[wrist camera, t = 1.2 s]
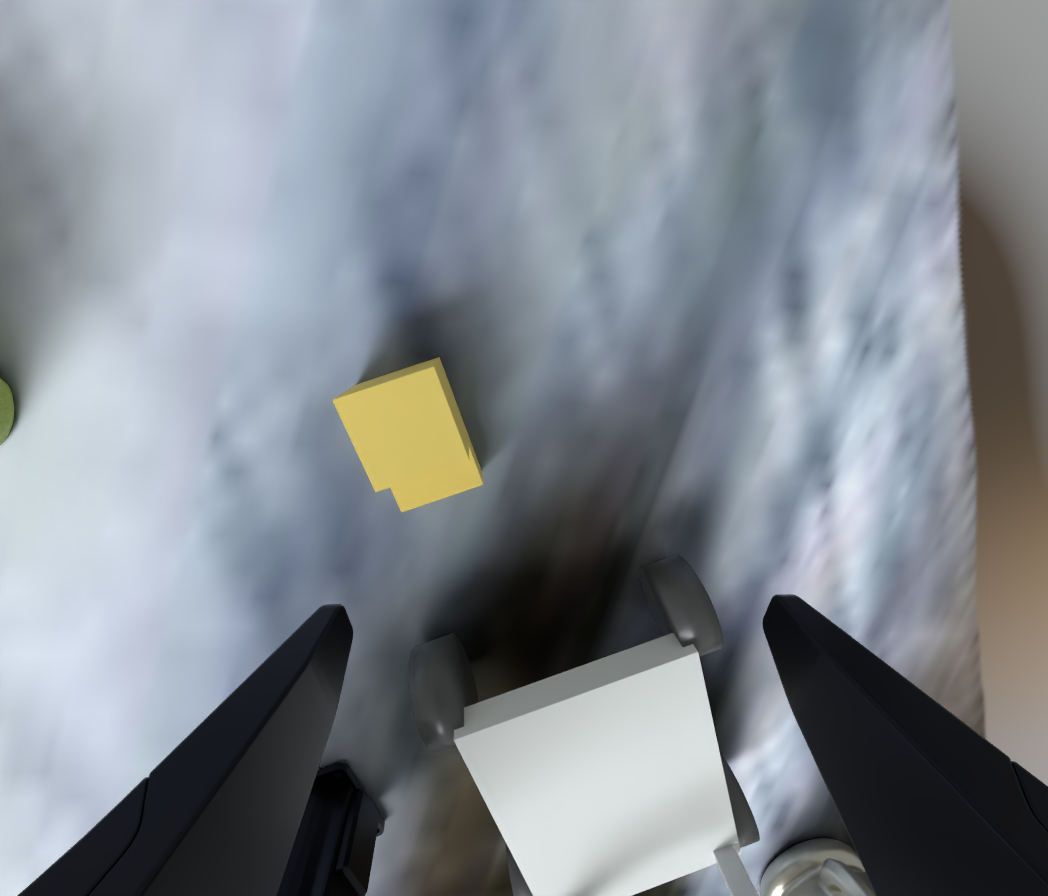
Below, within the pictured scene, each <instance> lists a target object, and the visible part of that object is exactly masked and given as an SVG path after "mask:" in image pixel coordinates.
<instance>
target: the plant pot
mask: <svg viewBox="0 0 1048 896" xmlns="http://www.w3.org/2000/svg"><path fill="white" fill-rule="evenodd" d="M13 419H14V402H13V397H12V393H11V390H10V387H9V386H8V385H7V383H5V382H4V381H3V380H2V379H1V378H0V445H1V444H2V443H3V442H4V440H5V439H6V438H7V436H8V434H9V432H10V430H11V427H12V424H13Z"/></svg>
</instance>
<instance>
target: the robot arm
mask: <svg viewBox="0 0 1048 896" xmlns="http://www.w3.org/2000/svg"><path fill="white" fill-rule="evenodd" d="M763 630H764V633H765V636H766V639H767V642H768V645H769V647H770V650H771V653H772V656H773V659H774V662H775V665H776V668H777V671H778V673H779V676H780V679H781V682H782V685H783V688H784V691H785V694H786V696H787V699H788V702H789V704H790V707H791V709H792V712H793V714H794V716H795V718H796V721H797V723H798V725H799V727H800V729H801V732H802V734H803V736H804V738H805V740H806V743H807V745H808V747H809V749H810V751H811V753H812V756H813V758H814V760H815V762H816V764H817V767H818V769H819V771H820V773H821V775H822V777H823V780H824V782H825V784H826V786H827V788H828V791H829V793H830V795H831V797H832V799H833V802H834V804H835V806H836V808H837V810H838V812H839V815H840V817H841V819H842V821H843V823H844V826H845V828H846V830H847V832H848V834H849V836H850V839H851V841H852V843H853V845H854V847H855V850H856V852H857V854H858V856H859V858H860V860H861V863H862V865H863V867H864V869H865V871H866V874H867V876H868V878H869V880H870V882H871V885H872V887H873V889H874V891H875V893H876V895H877V896H1048V786H1046V785H1045V784H1044V783H1043V782H1041V781H1040V780H1039V779H1037V778H1036V777H1035V776H1033V775H1032V774H1031V773H1029V772H1028V771H1027V770H1025V769H1024V768H1023V767H1021V766H1020V765H1019V764H1018V763H1016V762H1014V761H1011V760H1010V758H1009V757H1008V756H1007V755H1005V754H1004V753H1003V752H1002V751H1000V750H999V749H998V748H996V747H995V746H994V745H992V744H991V743H990V742H988V741H987V740H986V739H985V738H983V737H982V736H981V735H979V734H978V733H977V732H975V731H974V730H973V729H971V728H970V727H969V726H968V725H966V724H965V723H964V722H962V721H961V720H960V719H958V718H957V717H956V716H954V715H953V714H952V713H951V712H949V711H948V710H947V709H945V708H944V707H943V706H941V705H940V704H939V703H937V702H936V701H935V700H933V699H932V698H931V697H930V696H928V695H927V694H926V693H924V692H923V691H922V690H920V689H919V688H918V687H916V686H915V685H914V684H912V683H911V682H910V681H909V680H907V679H906V678H905V677H903V676H902V675H901V674H899V673H898V672H897V671H895V670H894V669H893V668H891V667H890V666H889V665H888V664H886V663H885V662H884V661H882V660H881V659H880V658H878V657H877V656H876V655H874V654H873V653H872V652H870V651H869V650H868V649H867V648H865V647H864V646H863V645H861V644H860V643H859V642H857V641H856V640H855V639H853V638H852V637H851V636H850V635H848V634H847V633H846V632H844V631H843V630H842V629H840V628H839V627H838V626H836V625H835V624H834V623H832V622H831V621H830V620H829V619H827V618H826V617H825V616H823V615H822V614H821V613H819V612H818V611H817V610H815V609H814V608H813V607H811V606H810V605H809V604H808V603H806V602H805V601H804V600H802V599H801V598H799V597H798V596H796V595H791V594H787V595H775V596H773V597H772V599H771V601H770V604H769V606H768V608H767V611H766V613H765V616H764V618H763ZM352 639H353V628H352V625H351V623H350V620H349V617H348V615H347V612H346V609H345V607H344V606H343V605H341V604H329V605H323V606H321V607H320V608H319V609H317V610H316V611H315V612H314V613H313V614H312V615H311V616H310V617H309V618H308V619H307V620H306V621H305V622H304V623H303V624H302V625H301V626H300V627H299V628H298V629H297V630H296V631H295V632H294V633H293V634H292V635H291V636H290V637H289V638H288V639H287V640H286V641H285V642H284V643H283V644H282V645H281V646H280V647H279V648H278V649H277V650H276V651H274V652H273V653H272V654H271V655H270V656H269V657H268V658H267V659H266V660H265V661H264V662H263V663H262V664H261V665H260V666H259V667H258V668H257V669H256V670H255V671H254V672H253V673H252V674H251V675H250V676H249V677H248V678H247V679H246V680H245V681H244V682H243V683H242V684H241V685H240V686H239V687H238V688H237V689H236V690H235V691H234V692H232V693H231V694H230V695H229V696H228V697H227V698H226V699H225V700H224V701H223V702H222V703H221V704H220V705H219V706H218V707H217V708H216V709H215V710H214V711H213V712H212V713H211V714H210V715H209V716H208V717H207V718H206V719H205V720H204V721H203V722H202V723H201V724H200V725H199V726H198V727H197V728H196V729H195V730H194V731H193V732H192V733H190V734H189V735H188V736H187V737H186V738H185V739H184V740H183V741H182V742H181V743H180V744H179V745H178V746H177V747H176V748H175V749H174V750H173V751H172V752H171V753H170V754H169V755H168V756H167V757H166V758H165V759H164V760H163V761H162V762H161V763H160V764H159V765H158V766H157V767H156V768H155V769H154V770H153V771H152V772H151V773H150V774H149V778H148V777H147V778H144V779H143V780H142V781H141V782H140V783H139V784H138V785H137V786H136V787H135V788H134V789H133V790H132V791H131V792H130V793H129V794H128V795H127V796H126V797H125V798H124V799H123V800H122V801H121V802H120V803H118V804H117V805H116V806H115V807H114V808H113V809H112V810H111V811H110V812H109V813H108V814H107V815H106V816H105V817H104V818H103V819H102V820H101V821H100V822H98V823H97V824H96V825H95V826H94V827H93V828H92V829H91V830H90V831H89V832H88V833H87V834H86V835H85V836H84V837H83V838H82V839H80V840H79V841H78V842H77V843H76V844H75V845H74V846H73V847H72V848H70V849H69V850H68V851H67V852H66V853H65V854H64V855H63V856H62V857H60V858H59V859H58V860H57V861H56V862H55V863H54V864H53V865H51V866H50V867H49V868H48V869H47V870H46V871H45V872H44V873H43V874H41V875H40V876H39V877H38V878H37V879H36V880H35V881H34V882H32V883H31V884H30V885H29V886H28V887H27V888H26V889H24V890H23V891H22V892H21V893H20V894H19V895H18V896H365V894H366V892H367V889H368V883H369V877H370V871H371V865H372V859H373V853H374V847H375V841H376V837H377V836H379V835H381V834H382V833H383V831H384V825H385V822H384V820H383V819H382V817H381V816H380V814H379V812H378V811H377V809H376V807H375V806H374V804H373V803H372V801H371V800H370V798H369V797H368V795H367V794H366V792H365V791H364V789H363V788H362V786H361V785H360V783H359V782H358V780H357V779H356V777H355V775H354V774H353V772H352V771H351V769H350V768H349V766H348V765H347V764H345V763H341V762H340V763H336V764H333V765H330V766H327V767H325V768H322V769H319V770H318V768H319V764H320V761H321V758H322V755H323V752H324V749H325V746H326V743H327V740H328V737H329V734H330V731H331V728H332V725H333V721H334V718H335V715H336V711H337V707H338V703H339V698H340V694H341V689H342V685H343V680H344V676H345V671H346V667H347V662H348V658H349V653H350V649H351V644H352Z"/></svg>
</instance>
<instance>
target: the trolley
mask: <svg viewBox="0 0 1048 896" xmlns="http://www.w3.org/2000/svg"><path fill="white" fill-rule="evenodd" d="M639 574H640V580H641V585H642V588H643V592H644V595H645V598H646V601H647V604H648V606H649V609H650V611H651V614H652V616H653V618H654V621H655V623H656V625H657V627H658V629H659V631H660V633H661V635H662V637H660V638H657V639H654V640H651V641H649V642H646V643H643V644H640V645H638V646H635V647H632V648H629V649H626V650H624V651H621V652H618V653H615V654H612V655H610V656H607V657H604V658H601V659H599V660H596V661H593V662H590V663H587V664H585V665H582V666H579V667H576V668H573V669H571V670H568V671H565V672H562V673H560V674H557V675H554V676H551V677H548V678H546V679H543V680H540V681H537V682H534V683H532V684H529V685H526V686H523V687H521V688H518V689H515V690H512V691H509V692H507V693H504V694H501V695H498V696H495V697H493V698H490V699H487V700H484V701H482V702H479V703H478V697H477V691H476V686H475V681H474V677H473V673H472V669H471V666H470V663H469V660H468V657H467V654H466V651H465V649H464V647H463V645H462V643H461V641H460V639H459V638H458V637H457V636H456V635H455V634H453V633H452V634H449V635H446V636H443V637H440V638H438V639H435V640H432V641H429V642H426V643H423V644H420V645H418V646H416V647H414V649H413V650H412V652H411V655H410V660H409V691H410V698H411V704H412V709H413V714H414V718H415V721H416V724H417V727H418V730H419V733H420V735H421V737H422V739H423V741H424V743H425V745H426V746H427V747H428V749H430V750H431V751H432V752H437V751H440V750H443V749H446V748H448V747H451V746H454V745H456V746H457V748H458V750H459V751H460V753H461V755H462V757H463V759H464V761H465V763H466V765H467V767H468V769H469V771H470V773H471V775H472V777H473V779H474V781H475V783H476V785H477V787H478V789H479V791H480V793H481V795H482V797H483V799H484V800H485V802H486V804H487V806H488V808H489V810H490V812H491V814H492V816H493V818H494V820H495V822H496V824H497V826H498V828H499V830H500V832H501V834H502V836H503V838H504V840H505V842H506V851H507V860H508V868H509V874H510V880H511V885H512V890H513V894H514V896H632V895H634V894H637V893H639V892H642V891H645V890H647V889H650V888H653V887H655V886H658V885H660V884H663V883H666V882H668V881H671V880H674V879H676V878H679V877H681V876H684V875H687V874H689V873H692V872H695V871H697V870H700V869H702V868H705V867H708V866H710V865H713V864H717V867H718V869H719V871H720V873H721V875H722V877H723V880H724V882H725V884H726V886H727V888H728V890H729V893H730V895H731V896H758V894H757V892H756V890H755V888H754V886H753V884H752V882H751V880H750V878H749V876H748V874H747V872H746V870H745V868H744V866H743V864H742V862H741V860H740V858H739V856H738V855H739V854H741V850H740V848H741V847H744V846H747V845H749V844H752V843H754V842H757V841H759V840H760V837H759V832H758V828H757V825H756V822H755V819H754V817H753V814H752V812H751V809H750V807H749V804H748V802H747V800H746V798H745V796H744V793H743V791H742V789H741V787H740V785H739V783H738V781H737V779H736V778H735V776H734V774H733V772H732V770H731V768H730V767H729V765H728V763H727V762H726V760H725V759H724V757H723V756H722V754H721V753H720V752H719V747H718V742H717V738H716V733H715V728H714V724H713V719H712V714H711V710H710V705H709V700H708V696H707V691H706V686H705V682H704V677H703V672H702V667H701V663H700V658H699V657H700V656H703V655H705V654H708V653H711V652H714V651H716V650H719V649H721V648H722V644H723V638H722V632H721V628H720V624H719V621H718V618H717V615H716V612H715V610H714V607H713V605H712V603H711V600H710V598H709V596H708V594H707V592H706V590H705V588H704V586H703V585H702V583H701V581H700V580H699V578H698V576H697V575H696V573H695V572H694V570H693V569H692V568H691V566H690V565H689V564H688V563H687V562H686V561H685V560H684V559H683V558H682V557H680V556H679V555H673V556H671V557H668V558H665V559H662V560H659V561H656V562H653V563H651V564H648V565H645V566H642V567H640V570H639Z"/></svg>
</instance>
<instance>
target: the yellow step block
mask: <svg viewBox="0 0 1048 896" xmlns="http://www.w3.org/2000/svg"><path fill="white" fill-rule="evenodd" d="M332 401H333V403H334V405H335V407H336V409H337V411H338V413H339V416H340V418H341V420H342V422H343V424H344V426H345V428H346V430H347V433H348V435H349V437H350V439H351V441H352V443H353V445H354V447H355V450H356V452H357V454H358V456H359V458H360V460H361V462H362V464H363V467H364V469H365V471H366V473H367V475H368V477H369V479H370V481H371V484H372V486H373V488H374V490H375V492H378V491H381V490H384V489H387V488H391V490H392V493H393V495H394V497H395V499H396V501H397V503H398V506H399V508H400V510H401V512H405V511H408V510H411V509H414V508H417V507H419V506H422V505H425V504H428V503H431V502H434V501H437V500H440V499H443V498H446V497H449V496H452V495H455V494H458V493H460V492H463V491H466V490H469V489H472V488H475V487H478V486H481V485H483V478H482V470H481V468H480V465H479V462H478V459H477V457H476V454H475V451H474V449H473V446H472V443H471V441H470V438H469V435H468V433H467V430H466V427H465V424H464V422H463V419H462V416H461V414H460V411H459V408H458V406H457V403H456V400H455V397H454V395H453V392H452V389H451V387H450V384H449V381H448V379H447V376H446V373H445V370H444V368H443V365H442V362H441V360H440V357H438V358H435V359H432V360H429V361H425V362H422V363H419V364H416V365H413V366H410V367H407V368H404V369H401V370H398V371H395V372H392V373H389V374H386V375H383V376H380V377H377V378H374V379H371V380H368V381H365V382H362V383H359V384H356V385H355V386H353V387H352V388H350V389H349V390H347V391H345V392H344V393H342V394H341V395H339V396H338V397H336V398H335V399H333V400H332Z"/></svg>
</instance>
